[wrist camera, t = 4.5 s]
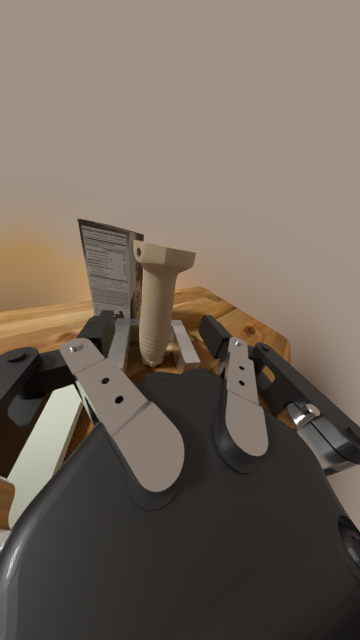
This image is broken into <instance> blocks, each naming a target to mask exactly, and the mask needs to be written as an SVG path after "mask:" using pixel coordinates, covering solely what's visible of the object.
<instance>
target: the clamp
mask: <svg viewBox="0 0 360 640" xmlns="http://www.w3.org/2000/svg"><path fill="white" fill-rule="evenodd" d="M139 324H140V319H132V318H118V319H117V322H116V325H115V334H114V338H113V341H112V344H111V347H110V350H109V354H108V357H110V358H111V359H112V360H113V361H114V362H115V364H116V365H117V366H118V367H119V368H120V369H121V370H122V372H123V373H124V374H125V375H126V370H127V362H128V355H129V347H130V342H139ZM168 342H170V345H171V349H172V352H173V356H174V360H175V364H176V368H177V372H178V374H181V373H184V372H186V371H189V370H192V369H198V368H199V365H200V360H199V358H198V356H197V353H196V351H195V349H194V347H193V345H192V343H191V341H190V338H189V336H188V334H187V332H186V330H185V328H184V326H183V323H182V321H181V320H171V330H170V336H169V341H168Z"/></svg>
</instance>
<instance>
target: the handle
mask: <svg viewBox="0 0 360 640" xmlns="http://www.w3.org/2000/svg"><path fill="white" fill-rule="evenodd" d="M195 255H196V253H194V252H191V251H186V250H182V249H177V248H172V247H168V246H163V245H158V244H153V243H148V242H143V241H138V240H134V256H135V259H136V260H137V261H138V262H139V263H140V264H141V265H142V266H143V268H144V284H143V294H142V305H141V315H140V324H139V343H140V351H141V354H142V356H141V361H142V363H143V364H144V365H149V366H150V367H155V366H156V365H158V364H161V363H162V361H163V358H164V357H163V355H164V353H165V351H166V348H167V344H168V341H169V336H170V330H171V320H172V310H173V300H174V291H175V283H176V278H177V275H178V274H179V273H181V272H183V271H185V270H188V269H189V268H191V267H192V266H193V264H194V259H195Z"/></svg>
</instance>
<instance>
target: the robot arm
mask: <svg viewBox="0 0 360 640" xmlns="http://www.w3.org/2000/svg"><path fill="white" fill-rule="evenodd" d="M114 334H115V317H114V311H113V310H102V312H101V314H100V315H99V316H93V317H92V318H90V319H89V320H88V322H87V324H86V325H85V326H84V327H83V329H82V330H81V332H80V333H79V335H78V336H77V338H76V339H73V340H70V341H68V342H66V343H64V344H63V345H62V346H61V347H60V349H59V350H55V351H50V352H45V353H40V354H39V352H38V350H37V349H35V348H31V347H25V348H19V349H15V350H11V351H9V352H6V353H4V354H2V355H0V640H360V532H359V530H358V529H357V528H356V526H355V525H354V524H353V522H352V521H351V519H350V518H349V516H348V514H347V513H346V511H345V510H344V508H343V506H342V505H341V503H340V502H339V500H338V498H337V496H336V495H335V493H334V491H333V489H332V487H331V485H330V483H329V482H328V480H327V478H326V476H328V475H332V474H335V473H337V472H340V471H343V470H346V469H348V468H351V467H355V466H357V465H360V427H359V426H358V425H357V424H356V423H354V422H353V421H352V420H351V419H350V418H349V417H348V416H347V415H345V414H344V413H343V412H342V411H341V410H340V409H339V408H338V407H337V406H336V405H334V404H333V403H332V402H331V401H330V400H329V399H328V398H327V397H326V396H324V395H323V394H322V393H321V392H320V391H319V390H318V389H317V388H316V387H314V386H313V385H312V384H311V383H310V382H309V381H308V380H307V379H306V378H304V377H303V376H302V375H301V374H300V373H299V372H298V371H297V370H295V368H293V367H292V366H291V365H290V364H289V363H288V362H287V361H286V360H285V359H283V358H282V357H281V356H280V355H279V354H278V353H277V352H276V351H275V350H273V349H272V348H271V347H270V346H268V345H266V344H264V343H256V345H255V347H252V346H247V344H246V343H245V342H244V341H243V340H241V339H239V338H236V337H232V336H231V335H230V333H229V332H228V331H227V330H225V328H224V327H223V326H222V325H221V324H220V323H219V322H218V321H216V320H215V319H214V318H213V317H212V316H211V315H204V316H203V317H202V320H201V323H200V327H199V334H200V336H201V338H202V339H203V341H204V343H205V345H206V346H207V348H208V350H209V351H210V353H211V355H212V356H213V358H214V359H218V358H220V361H219V364H218V368H217V373H216V375H215V374H211V373H209V372H208V370H207V368H201V369H192V370H189V371H186V372H184V373H181V374H174V373H167V372H153V373H145V379H142V380H140V381H138V382H136V383H134V384H133V383H132V382H131V381H130V380H129V378H128V377H127V376H126V375H125V374H124V373H123V372H122V370H121V369H120V368H119V367H118V366H117V365H116V364H115V362H114V361H113V360H112V359H111V358H110V357H108V354H109V350H110V347H111V344H112V341H113V338H114ZM266 365H267V367H268V368H269V369H270V370H271V371H272V372H273V373H274V375H275V380H274V381H273V383H272V382H271V381H270V380H269V378H268V377H267V376H266V375H265V374H264V372H263V371H262V370H263V369H264V367H265V366H266ZM72 384H73V386H74V388H75V390H76V392H77V394H78V395H79V397H80V399H81V401H82V403H83V405H84V407H85V409H86V411H87V413H88V416H89V418H90V420H91V422H92V424H93V425H94V428H93V429H92V430H91V431H90V433H89V434H88V435H87V436H86V437H85V439H84V440H83V441H82V442H81V443H80V444H79V446H78V447H77V448H76V449H75V450H74V452H73V453H72V454H71V455H70V456H69V457H68V459H67V460H66V461H65V462H64V463H63V464H62V466H61V467H60V468H59V469H58V470H57V472H56V473H55V474H54V475H53V476H52V477H51V479H50V480H49V481H48V482H47V483H46V485H45V486H44V487H43V488H42V489H41V490H40V492H39V493H38V494H37V495H36V496H35V497H34V499H33V500H32V501H31V502H30V504H29V505H28V506H27V507H26V509H25V510H24V511H23V513H22V514H21V515H20V517H19V518H18V520H17V521H16V523H15V524H14V526H13V527H12V529H10V527H9V522H8V520H9V512H10V509H11V506H12V503H13V500H14V496H15V486H14V484H13V482H11V481H10V480H8V479H7V478H8V476H9V474H10V472H11V470H12V469H13V467H14V465H15V463H16V461H17V459H18V457H19V455H20V453H21V451H22V450H23V448H24V446H25V444H26V442H27V440H28V438H29V436H30V434H31V432H32V431H33V429H34V427H35V425H36V423H37V421H38V419H39V417H40V415H41V413H42V412H43V410H44V408H45V406H46V404H47V402H48V400H49V398H50V396H51V394H52V393H53V391H54V390H57V389H60V388H63V387H66V386H69V385H72ZM257 392H258V393H259V394H260V396H261V397H262V399H263V400H264V402H265V403H266V405H267V406H268V407H269V409H270V410H271V412H272V413H273V415H272V414H271V413H270V412H268V411H267V410H266V409H264V408H263V407H261V406H260V405H259V402H258V395H257Z"/></svg>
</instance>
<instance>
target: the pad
mask: <svg viewBox="0 0 360 640" xmlns="http://www.w3.org/2000/svg"><path fill="white" fill-rule="evenodd" d="M82 408H83V403H82V401H81V399H80V397H79V395H78V394H77V392H76V390H75V388H74V386H73V384H72V385H69V386H66V387H63V388H60V389H57V390H54V391H53V393H52V394H51V396H50V398H49V400H48V402H47V404H46V406H45V408H44V410H43V412H42V413H41V415H40V417H39V419H38V421H37V423H36V425H35V427H34V429H33V431H32V432H31V434H30V436H29V438H28V440H27V442H26V444H25V446H24V448H23V450H22V451H21V453H20V455H19V457H18V459H17V461H16V463H15V465H14V467H13V469H12V470H11V472H10V474H9V476H8V478H7V479H8V480H10V481H11V482H13V484H14V486H15V496H14V500H13V503H12V506H11V509H10V512H9V520H8V522H9V527H10V529H12V527H13V526H14V524H15V523H16V521H17V520H18V518H19V517H20V515H21V514H22V513H23V511H24V510H25V509H26V507H27V506H28V505H29V504H30V502H31V501H32V500H33V499H34V497H35V496H36V495H37V494H38V493H39V492H40V490H41V489H42V488H43V487H44V486H45V485H46V483H47V482H48V481H49V480H50V479H51V477H52V476H53V475H54V474H55V473H56V472H57V470H58V469H59V468H60V467H61V466H62V463H63V460H64V457H65V455H66V452H67V449H68V446H69V444H70V441H71V438H72V435H73V433H74V430H75V427H76V424H77V421H78V419H79V416H80V413H81V410H82Z"/></svg>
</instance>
